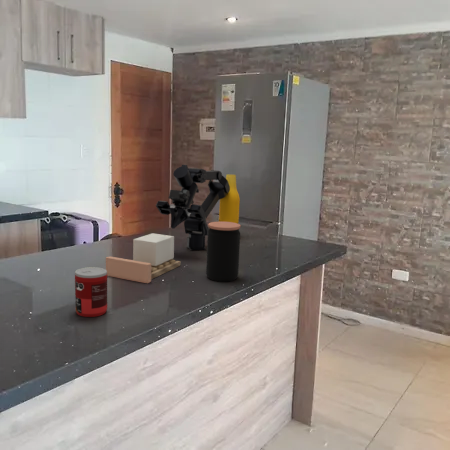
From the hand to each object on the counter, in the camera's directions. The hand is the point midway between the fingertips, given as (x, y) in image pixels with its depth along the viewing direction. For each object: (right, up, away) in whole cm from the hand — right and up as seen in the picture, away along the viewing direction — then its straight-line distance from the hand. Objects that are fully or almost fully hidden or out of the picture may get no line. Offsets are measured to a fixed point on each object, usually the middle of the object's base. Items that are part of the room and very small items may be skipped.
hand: (172, 228), depth 172 cm
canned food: (-15, -22, -52) cm, 58 cm away
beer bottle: (+21, -5, +42) cm, 47 cm away
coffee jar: (+19, -17, -17) cm, 30 cm away
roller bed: (-7, -14, -12) cm, 20 cm away
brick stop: (-12, -16, -23) cm, 30 cm away
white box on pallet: (-5, -11, -10) cm, 16 cm away
